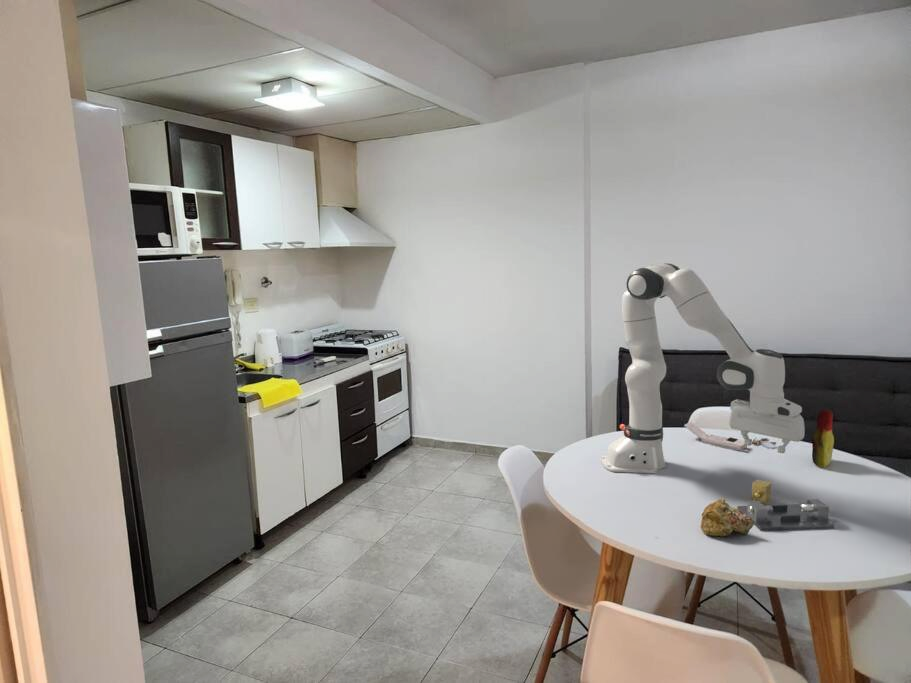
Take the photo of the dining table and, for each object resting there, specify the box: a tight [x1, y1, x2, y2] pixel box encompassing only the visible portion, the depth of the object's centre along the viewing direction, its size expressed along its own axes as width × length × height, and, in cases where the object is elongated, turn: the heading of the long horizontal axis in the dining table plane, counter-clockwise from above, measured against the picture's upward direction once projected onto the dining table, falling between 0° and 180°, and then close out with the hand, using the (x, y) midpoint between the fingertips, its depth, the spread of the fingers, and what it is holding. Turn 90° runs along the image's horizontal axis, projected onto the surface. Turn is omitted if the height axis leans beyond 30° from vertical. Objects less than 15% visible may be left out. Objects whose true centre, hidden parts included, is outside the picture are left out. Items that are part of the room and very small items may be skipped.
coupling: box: [751, 479, 773, 505], centre depth 173 cm, size 7×4×6 cm, turn 130°
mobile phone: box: [683, 421, 749, 453], centre depth 221 cm, size 6×6×25 cm
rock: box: [700, 498, 754, 538], centre depth 154 cm, size 12×9×10 cm
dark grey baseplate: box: [736, 498, 835, 532], centre depth 161 cm, size 21×13×5 cm, turn 90°
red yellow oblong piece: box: [811, 408, 835, 468], centre depth 197 cm, size 12×6×20 cm, turn 142°
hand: (764, 448), depth 170 cm, fingers open, 8 cm apart
